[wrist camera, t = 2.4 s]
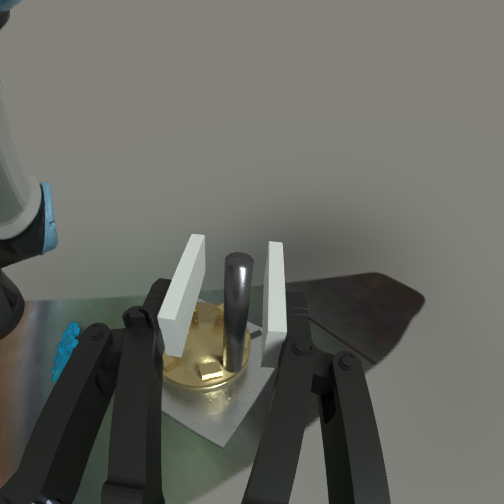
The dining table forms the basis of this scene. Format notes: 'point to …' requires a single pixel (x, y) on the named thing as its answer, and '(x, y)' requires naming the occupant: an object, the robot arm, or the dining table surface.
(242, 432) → the dining table surface
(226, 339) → the gold toothed rod mount
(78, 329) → the gear
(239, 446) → the dining table surface
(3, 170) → the robot arm
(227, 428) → the white square base plate
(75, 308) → the dining table surface
